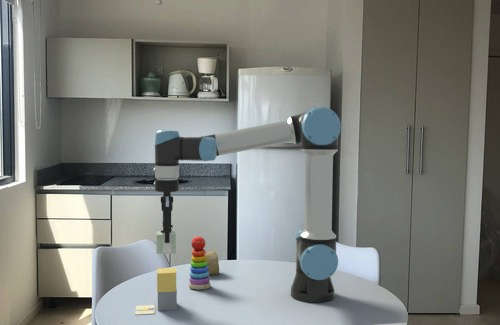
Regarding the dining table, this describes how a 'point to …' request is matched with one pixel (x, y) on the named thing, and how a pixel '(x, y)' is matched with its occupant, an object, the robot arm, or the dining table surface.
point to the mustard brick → (166, 280)
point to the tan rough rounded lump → (212, 262)
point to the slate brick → (167, 300)
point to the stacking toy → (199, 266)
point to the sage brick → (160, 242)
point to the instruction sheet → (145, 309)
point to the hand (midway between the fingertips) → (166, 250)
